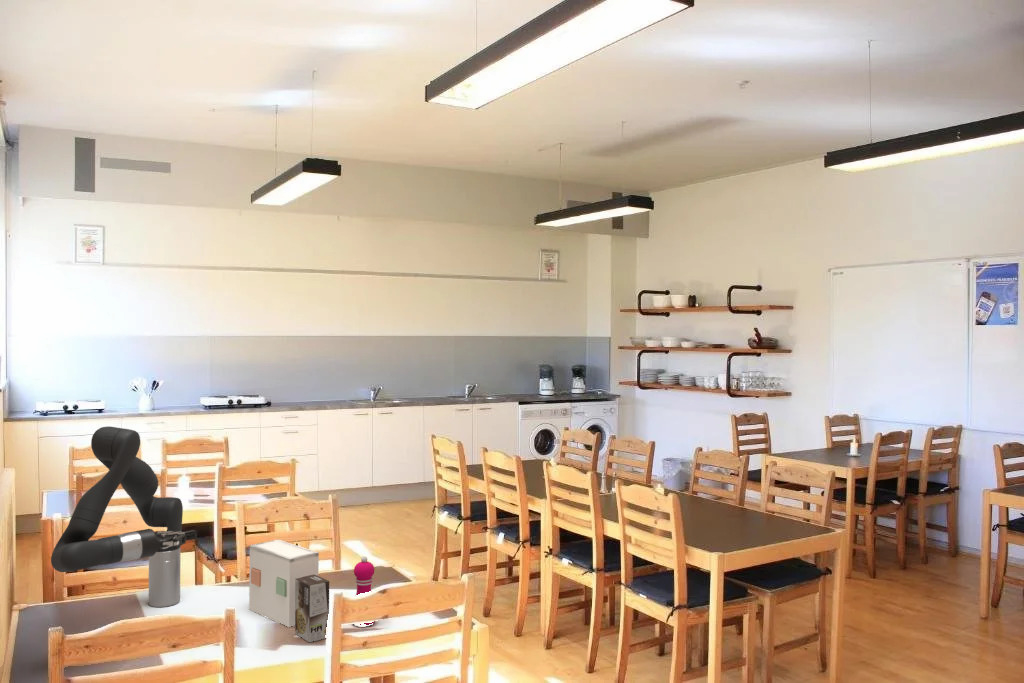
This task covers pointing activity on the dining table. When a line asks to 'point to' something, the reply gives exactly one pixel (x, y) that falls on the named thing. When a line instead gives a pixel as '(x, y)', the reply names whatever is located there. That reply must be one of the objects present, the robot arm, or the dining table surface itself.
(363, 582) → the pepper mill
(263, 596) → the button panel
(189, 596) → the dining table surface
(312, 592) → the coffee box
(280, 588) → the sage button
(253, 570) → the terracotta button
